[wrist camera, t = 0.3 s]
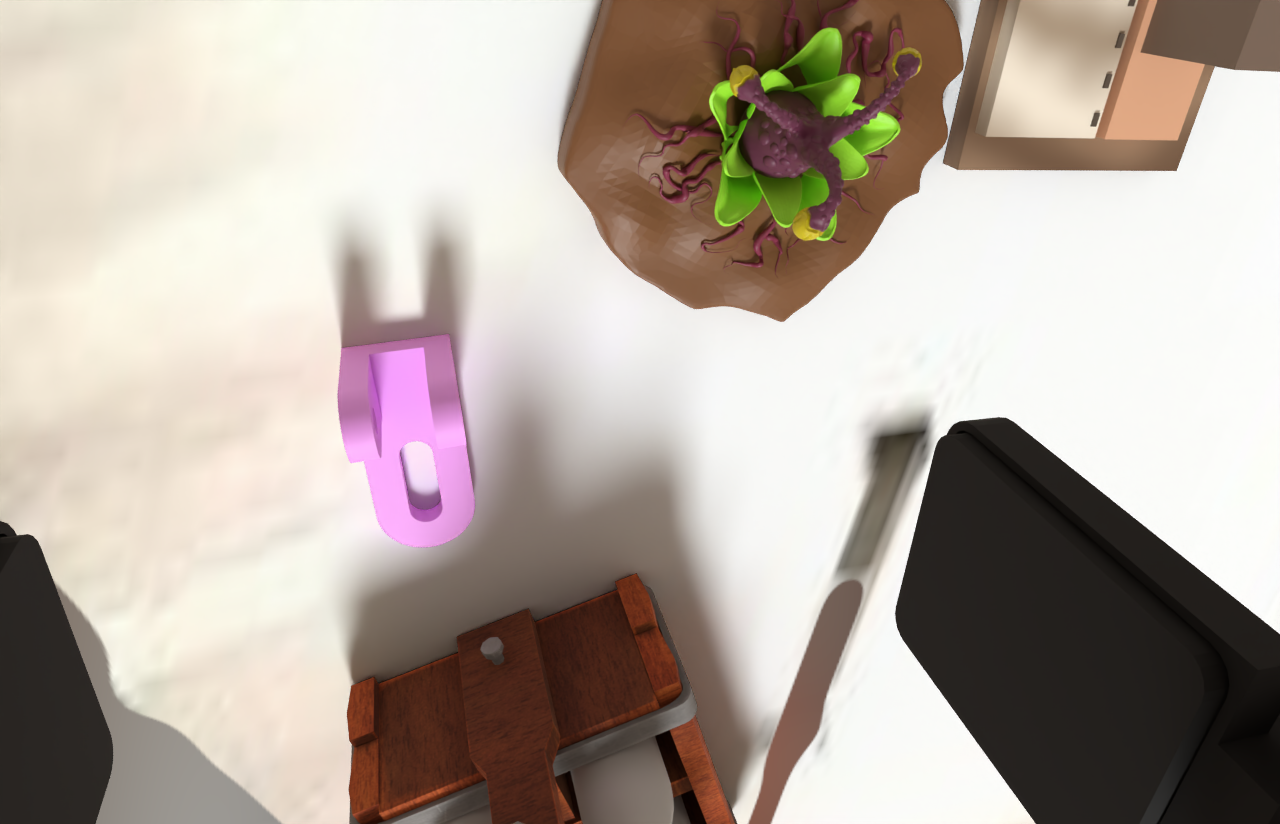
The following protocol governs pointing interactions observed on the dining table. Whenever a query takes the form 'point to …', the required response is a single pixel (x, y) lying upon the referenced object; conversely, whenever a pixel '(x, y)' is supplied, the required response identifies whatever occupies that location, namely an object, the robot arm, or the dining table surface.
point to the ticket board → (1050, 91)
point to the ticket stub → (1183, 60)
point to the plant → (755, 137)
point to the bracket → (407, 432)
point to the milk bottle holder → (539, 727)
